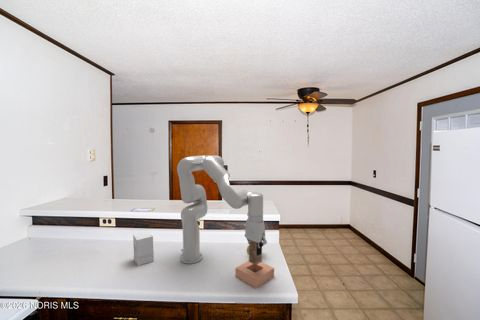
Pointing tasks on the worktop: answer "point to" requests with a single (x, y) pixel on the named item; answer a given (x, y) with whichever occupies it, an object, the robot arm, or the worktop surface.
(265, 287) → the worktop surface
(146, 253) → the supplement box
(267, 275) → the well block
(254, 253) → the walnut post
